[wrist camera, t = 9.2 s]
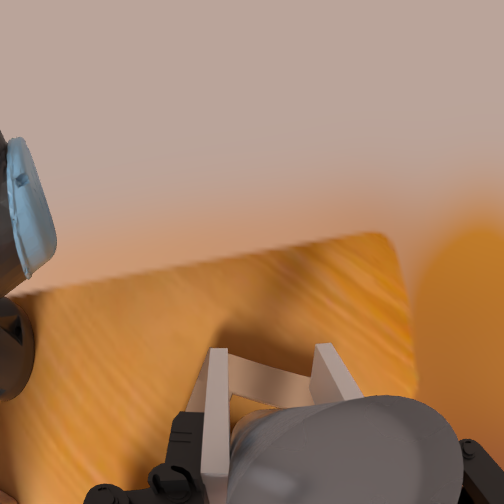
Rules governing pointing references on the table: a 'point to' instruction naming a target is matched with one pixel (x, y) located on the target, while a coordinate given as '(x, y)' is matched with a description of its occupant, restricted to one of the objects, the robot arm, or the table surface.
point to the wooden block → (6, 499)
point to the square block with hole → (255, 385)
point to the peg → (346, 455)
